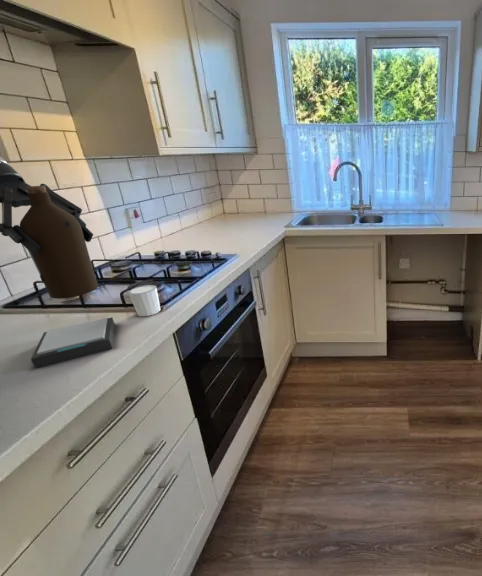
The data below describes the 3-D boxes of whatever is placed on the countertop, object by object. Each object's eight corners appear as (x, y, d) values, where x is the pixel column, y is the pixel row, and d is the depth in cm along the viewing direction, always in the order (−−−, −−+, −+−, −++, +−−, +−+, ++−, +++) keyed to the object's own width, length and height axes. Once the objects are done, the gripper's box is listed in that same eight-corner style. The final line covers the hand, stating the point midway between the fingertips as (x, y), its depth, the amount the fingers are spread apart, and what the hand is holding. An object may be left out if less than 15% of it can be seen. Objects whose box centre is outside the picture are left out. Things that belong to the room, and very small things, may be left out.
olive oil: (107, 281, 95) (74, 182, 85) (92, 296, 86) (54, 187, 76) (58, 286, 92) (18, 185, 82) (37, 303, 82) (-11, 190, 73)
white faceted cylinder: (147, 318, 100) (139, 295, 97) (129, 315, 102) (121, 292, 99) (168, 308, 106) (162, 286, 103) (151, 305, 108) (144, 283, 105)
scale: (35, 368, 79) (29, 356, 78) (47, 340, 90) (42, 330, 89) (112, 348, 86) (108, 337, 85) (115, 325, 97) (111, 315, 96)
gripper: (-80, 164, 70) (7, 247, 71) (52, 158, 90) (117, 222, 92) (-83, 192, 73) (1, 270, 75) (45, 179, 93) (108, 242, 95)
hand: (65, 244), depth 83 cm, fingers closed on olive oil, 11 cm apart
